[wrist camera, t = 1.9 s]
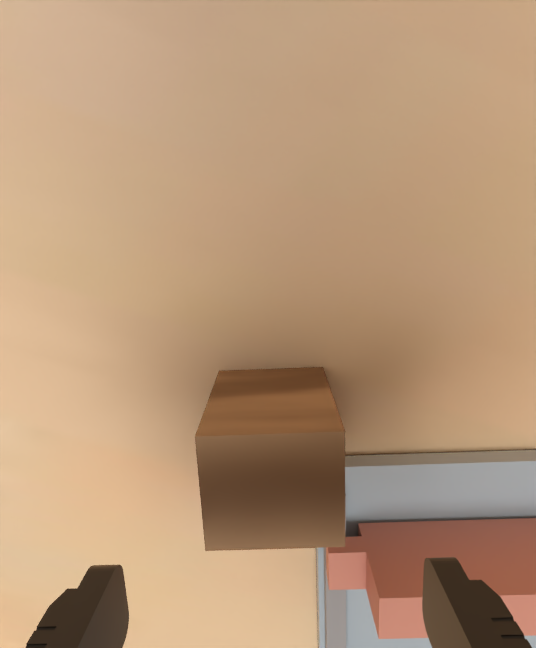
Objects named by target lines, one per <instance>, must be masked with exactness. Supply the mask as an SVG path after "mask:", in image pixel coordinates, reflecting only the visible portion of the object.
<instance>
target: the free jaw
mask: <svg viewBox="0 0 536 648" xmlns="http://www.w3.org/2000/svg"><path fill="white" fill-rule="evenodd" d="M441 557H455V558H456V559H457V560H458V561H459V563H460V564H461V566H462V568H463V570H464V571H465V573H466V575H467V577H468V578H469V580H482V581H483V582H485V583H486V584H487V585H488V586H489V587H490V588H491V589H492V590H493V591H495V592H496V593H497V594H498V595H499V596H500V597H501V598H502V600H503V602H504V603H505V605H506V606H507V608H508V610H509V611H510V613H511V614H512V616H513V619H514V621H516V623H517V624H518V626H519V627H520V629H521V631H522V632H523V634H524V636H535V635H536V518H520V519H485V520H450V521H416V522H381V523H358V536H355V537H345V547H326V573H327V580H328V587H329V590H351V589H366V591H367V595H368V599H369V603H370V607H371V611H372V615H373V619H374V623H375V627H376V630H377V634H378V638H379V639H403V638H428V635H427V632H426V629H425V624H424V619H423V612H422V597H423V573H424V561H425V559H426V558H441Z"/></svg>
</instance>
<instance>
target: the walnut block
mask: <svg viewBox="0 0 536 648" xmlns="http://www.w3.org/2000/svg"><path fill="white" fill-rule="evenodd" d="M195 442H196V453H197V464H198V475H199V486H200V497H201V508H202V519H203V529H204V540H205V551H215V550H251V549H287V548H322V547H345V430H344V427H343V424H342V421H341V418H340V415H339V413H338V410H337V407H336V404H335V401H334V398H333V395H332V392H331V390H330V387H329V384H328V381H327V378H326V375H325V372H324V369H323V367H311V368H284V369H256V370H229V371H219V373H218V375H217V378H216V381H215V384H214V386H213V389H212V392H211V394H210V397H209V400H208V403H207V405H206V408H205V411H204V413H203V416H202V419H201V422H200V424H199V427H198V430H197V432H196V435H195Z"/></svg>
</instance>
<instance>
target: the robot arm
mask: <svg viewBox="0 0 536 648" xmlns="http://www.w3.org/2000/svg"><path fill="white" fill-rule="evenodd" d="M422 612H423V619H424V624H425V629H426V632H427V635H428V638H429V641H430V643H431V646H432V648H532V647H531V645H530V643H529V642H528V640H527V639H525V637H524V634H523V632H522V631H521V629H520V627H519V626H518V624H517V623H516V621H514V619H513V616H512V614H511V613H510V611H509V610H508V608H507V606H506V605H505V603H504V602H503V600H502V598H501V597H500V596H499V595H498V594H497V593H496V592H495V591H493V590H492V589H491V588H490V587H489V586H488V585H487V584H486V583H485V582H483V581H482V580H469V578H468V577H467V575H466V573H465V571H464V570H463V568H462V566H461V564H460V563H459V561H458V560H457V559H456V558H455V557H441V558H426V559H425V561H424V573H423V597H422ZM128 621H129V611H128V603H127V596H126V588H125V581H124V574H123V569H122V566H121V565H94V566H91V567H90V568H89V569H88V571H87V572H86V574H85V576H84V578H83V580H82V581H81V583H80V585H79V587H78V589H67V590H66V591H65V592H64V593H63V594H62V595H61V596H60V597H58V598H57V599H56V600H55V601H54V602H53V603H52V604H51V605H50V606H49V608H48V609H47V611H46V613H45V614H44V616H43V617H42V619H41V621H40V622H39V624H38V626H37V630H36V631H34V632H33V634H32V636H31V637H30V639H29V641H28V642H27V646H26V648H122V647H123V644H124V642H125V638H126V634H127V629H128Z"/></svg>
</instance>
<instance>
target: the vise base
mask: <svg viewBox="0 0 536 648" xmlns="http://www.w3.org/2000/svg"><path fill="white" fill-rule="evenodd" d="M520 518H536V450H507V451H476V452H445V453H415V454H384V455H353V456H345V537H355V536H358V523H381V522H416V521H450V520H485V519H520ZM316 569H317V619H318V648H432V646H431V643H430V641H429V638H403V639H379V638H378V634H377V630H376V627H375V623H374V619H373V615H372V611H371V607H370V603H369V599H368V595H367V591H366V589H351V590H329V587H328V580H327V573H326V547H322V548H316ZM524 637H525V639H527V640H528V642H529V643H530V645H531V647H532V648H536V635H535V636H524Z"/></svg>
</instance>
